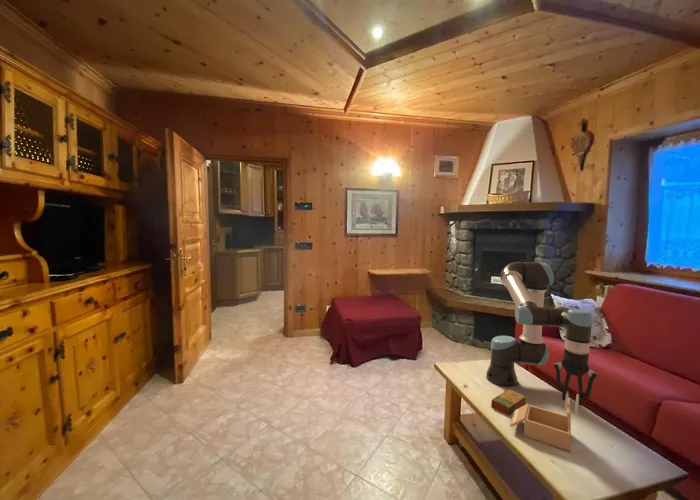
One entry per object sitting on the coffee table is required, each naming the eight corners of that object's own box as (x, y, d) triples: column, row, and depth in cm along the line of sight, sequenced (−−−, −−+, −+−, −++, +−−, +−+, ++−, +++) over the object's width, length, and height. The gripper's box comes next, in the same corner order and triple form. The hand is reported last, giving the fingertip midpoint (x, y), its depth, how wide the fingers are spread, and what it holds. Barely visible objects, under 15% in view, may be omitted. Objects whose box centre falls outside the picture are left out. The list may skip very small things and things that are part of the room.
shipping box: (514, 415, 136) (515, 399, 135) (569, 433, 125) (570, 415, 124) (509, 431, 125) (510, 413, 125) (569, 452, 114) (570, 432, 113)
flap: (568, 414, 124) (567, 397, 124) (570, 415, 124) (569, 397, 124) (568, 431, 114) (566, 412, 114) (570, 432, 114) (569, 413, 113)
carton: (525, 404, 146) (526, 395, 145) (508, 416, 136) (509, 407, 136) (508, 396, 152) (508, 388, 152) (490, 407, 143) (491, 398, 142)
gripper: (551, 348, 118) (546, 407, 120) (603, 360, 109) (597, 423, 111) (552, 342, 124) (547, 398, 126) (602, 353, 115) (596, 413, 117)
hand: (571, 410), depth 118 cm, fingers open, 3 cm apart
